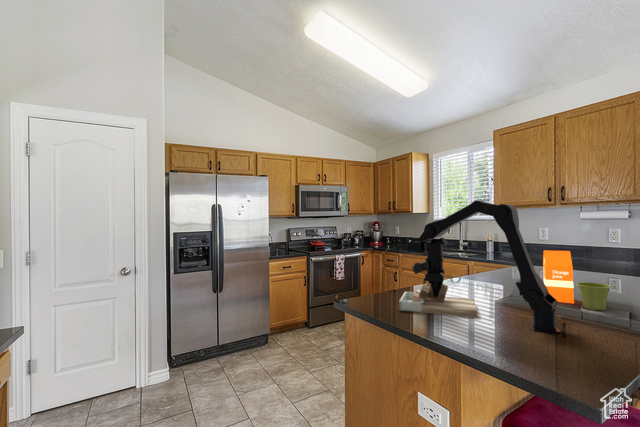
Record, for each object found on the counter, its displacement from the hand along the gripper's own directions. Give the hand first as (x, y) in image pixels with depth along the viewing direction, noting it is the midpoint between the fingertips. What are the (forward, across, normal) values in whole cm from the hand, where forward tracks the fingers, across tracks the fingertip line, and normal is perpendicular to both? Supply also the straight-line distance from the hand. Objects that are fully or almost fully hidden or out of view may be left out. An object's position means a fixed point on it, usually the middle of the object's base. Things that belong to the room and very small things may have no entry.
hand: (436, 295), depth 118 cm
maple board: (+5, 0, +4) cm, 6 cm away
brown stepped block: (+1, 0, -2) cm, 2 cm away
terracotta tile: (+2, +4, -6) cm, 7 cm away
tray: (+5, 0, -9) cm, 10 cm away
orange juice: (+5, -27, +46) cm, 53 cm away
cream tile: (+2, -4, -6) cm, 7 cm away
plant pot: (+5, -17, +54) cm, 56 cm away
